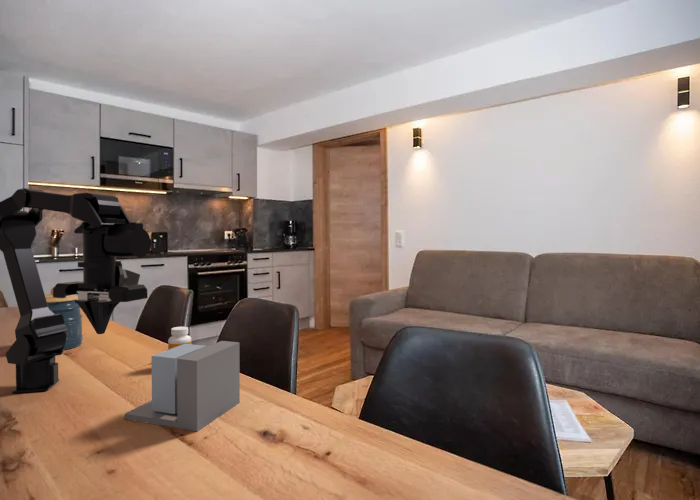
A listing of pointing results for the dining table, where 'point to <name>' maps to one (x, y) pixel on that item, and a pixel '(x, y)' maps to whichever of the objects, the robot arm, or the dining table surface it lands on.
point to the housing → (200, 388)
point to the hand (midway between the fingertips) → (100, 333)
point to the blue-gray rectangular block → (167, 377)
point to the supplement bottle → (178, 337)
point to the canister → (68, 317)
